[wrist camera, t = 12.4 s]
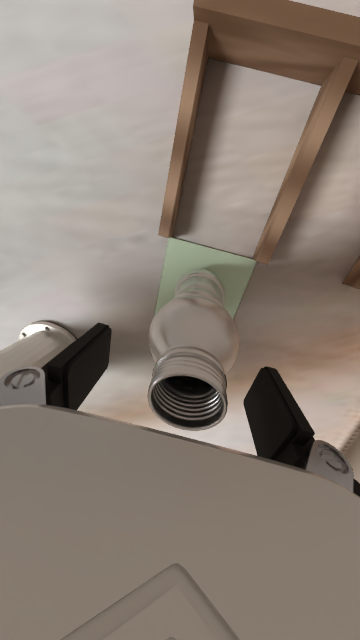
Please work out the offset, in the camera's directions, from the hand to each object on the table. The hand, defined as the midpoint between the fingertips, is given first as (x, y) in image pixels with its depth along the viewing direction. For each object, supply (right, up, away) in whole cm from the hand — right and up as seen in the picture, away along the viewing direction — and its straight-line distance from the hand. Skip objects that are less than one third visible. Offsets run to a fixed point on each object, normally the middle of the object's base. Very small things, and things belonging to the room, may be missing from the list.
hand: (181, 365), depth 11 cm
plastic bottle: (+3, +7, +15) cm, 17 cm away
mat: (+3, +7, +16) cm, 17 cm away
